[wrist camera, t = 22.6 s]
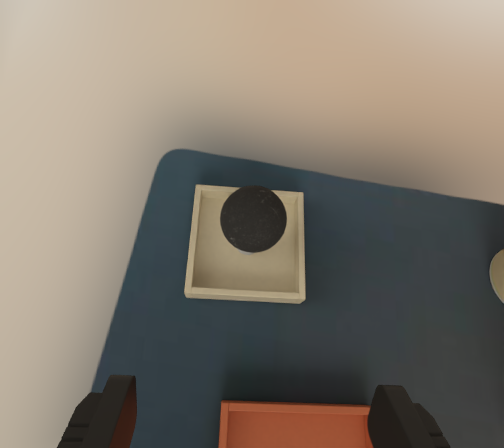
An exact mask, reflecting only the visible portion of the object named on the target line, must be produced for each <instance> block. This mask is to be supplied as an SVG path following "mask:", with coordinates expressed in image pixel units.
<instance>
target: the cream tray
mask: <svg viewBox="0 0 504 448" xmlns="http://www.w3.org/2000/svg"><path fill="white" fill-rule="evenodd" d="M238 189H239V188H236V187H222V186H209V185H196V189H195V198H194V207H193V216H192V226H191V235H190V244H189V254H188V263H187V272H186V281H185V291H184V293H185V295H186V298H203V299H222V300H241V301H260V302H279V303H298V304H300V303H301V302H303V301H304V300H305V254H304V207H303V192H298V193H297V192H289V191H276V190H271V191H273V192H274V193H275V194H276V195H277V196H278V197H279V198H280V199H281V201H282V202H283V204H284V206H285V210H286V213H287V225H286V228H285V231H284V234H283V236H282V237H281V239H280V240H279V241H278V242H277V243H276V244H275V245H274V246H273V247H271V248H270V249H268V250H265V251H262V252H257V253H254V254H251V255H244V254H242V253H240V252H239V251H238V249H237V248H235V247H234V246H233V245H232V244H230V243H229V242H228V240H227V239H226V238H225V236H224V234H223V232H222V229H221V225H220V214H221V209H222V207H223V204H224V202H225V201H226V199H227V198H228V197H229V196H230V195H231V194H232V193H233V192H235V191H236V190H238Z"/></svg>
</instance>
